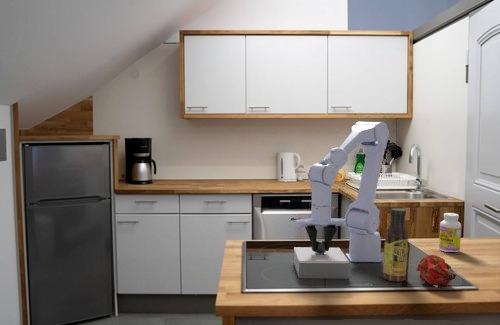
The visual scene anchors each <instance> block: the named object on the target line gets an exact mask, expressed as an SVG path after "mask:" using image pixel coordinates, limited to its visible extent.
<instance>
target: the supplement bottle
mask: <svg viewBox="0 0 500 325" xmlns="http://www.w3.org/2000/svg"><path fill="white" fill-rule="evenodd" d="M459 218H460V216H459V213H453V212H445V213H443V220H442V221H440V223H439V240H438V242H439V243H438V250H439V249H440V250H439V251H440V252H443V251H444V252H443V253H446V252H458V253H459V252H460V250H461V236H462V224H461V222H459Z"/></svg>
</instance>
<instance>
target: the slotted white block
mask: <svg viewBox="0 0 500 325" xmlns="http://www.w3.org/2000/svg"><path fill="white" fill-rule="evenodd" d="M293 265H294V268H295V272H296V274H297V277H298V279H348V280H349V277H350V276H349V274H350V273H349V272H350V271H349V270H350V260H349V258H348V257H347V256H346V254H344V252H343V251H342V250H341V248H340V247H329V251H326V252H325V253H322V255H318V253H317V252H314V251H313V250H312V247H311V246H309V247H307V246H306V247H304V246H303V247H301V246H300V247H299V246H298V247H296V246H294V248H293Z"/></svg>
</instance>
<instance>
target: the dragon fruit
mask: <svg viewBox="0 0 500 325" xmlns="http://www.w3.org/2000/svg"><path fill="white" fill-rule="evenodd" d="M415 269H416V272H419V277H420V280H421V282H422V283H424V282H426V281H427V282H428V284H429V285H431V286H432V285H438V284H439V286H438V287H441V286H440V285H446V286H449V285H450V284H451V283H452V281H453V280H455V279H456V277H457V274H456V273H455V271H454V270H453V269H452V266H451V265H449V264H448V263H447V262H446V260H445V259H444V258H442V257H440V256H438V255H437V254H429V255H428V254H427V256H424V257H423V258H421V259H420V260H419V263H418V264H417V267H416V268H415Z"/></svg>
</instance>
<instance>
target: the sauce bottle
mask: <svg viewBox="0 0 500 325" xmlns="http://www.w3.org/2000/svg"><path fill="white" fill-rule="evenodd" d="M406 215H407V210H406V209H405V208H398V207H397V208H396V207H395V208H394V207H393V208H390V225H389V227H388V228H387V230H386V231H385V238H384V247H383V248H384V249H383V263H382V265H383V266H382V273H383V274H382V277H383V279H385V280H387V281H389V282H399V283H401V282H403V281H405V279H406V277H407V276H406V275H407V267H408V266H407V264H408V263H407V262H408V249H409V238H408V237H409V236H408V235H407V229H406V226H405V225H406V224H405V221H406Z"/></svg>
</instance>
